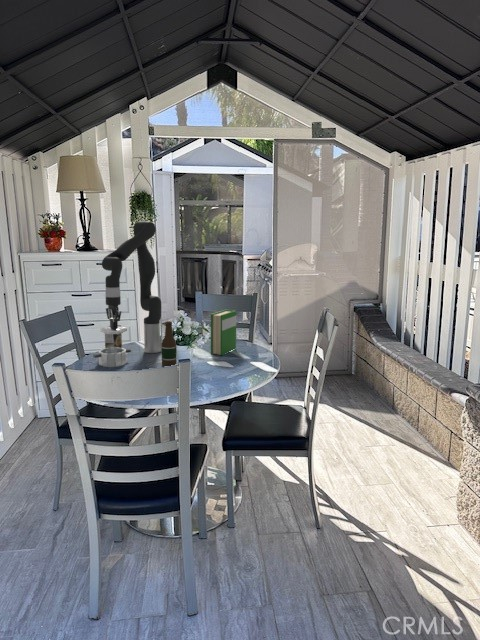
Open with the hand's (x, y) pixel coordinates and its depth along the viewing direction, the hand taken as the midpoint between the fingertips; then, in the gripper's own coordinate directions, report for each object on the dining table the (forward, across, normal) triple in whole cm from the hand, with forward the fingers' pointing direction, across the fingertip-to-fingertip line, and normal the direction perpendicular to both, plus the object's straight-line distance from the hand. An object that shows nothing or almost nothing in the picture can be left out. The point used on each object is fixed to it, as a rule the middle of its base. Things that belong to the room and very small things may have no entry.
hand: (113, 328), depth 243 cm
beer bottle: (+20, -22, -20) cm, 36 cm away
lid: (+2, 0, 0) cm, 2 cm away
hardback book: (+19, -17, -61) cm, 66 cm away
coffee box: (+20, +19, -9) cm, 29 cm away
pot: (+19, +1, +1) cm, 19 cm away
